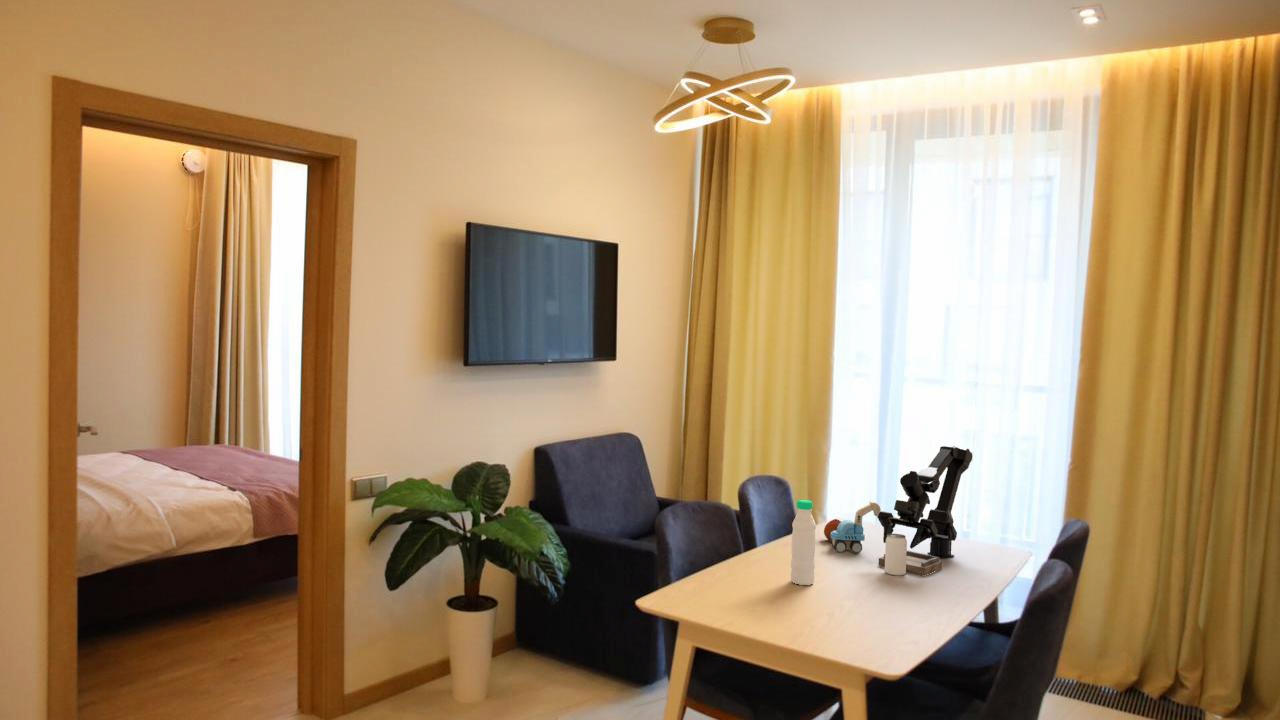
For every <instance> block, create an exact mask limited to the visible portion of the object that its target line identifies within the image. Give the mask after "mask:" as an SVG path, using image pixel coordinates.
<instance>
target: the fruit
mask: <svg viewBox="0 0 1280 720" xmlns="http://www.w3.org/2000/svg"><path fill="white" fill-rule="evenodd" d="M840 522H842V521H841V520H840V519H837V518H835V519H831V520H830V521H829V522H827V523H826V524H825V526H824V529H823V535H824V537H825V539H827V540H828V541H830V540H831V532H832V531H836V530H837V527H838V525H839V523H840Z"/></svg>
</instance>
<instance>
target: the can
mask: <svg viewBox="0 0 1280 720" xmlns="http://www.w3.org/2000/svg"><path fill="white" fill-rule="evenodd" d="M907 544H908V541H907V538H906V535H904V534H901V533H892V534H888V535H887V538H886V543H885V549H884V550H885V552H884V554H885V567H884V572H885V574H887V575H890V576H896V577H897V576H899V577H901V576H905V574H907V572H906V553H907V551H908V550H907V549H908V545H907Z"/></svg>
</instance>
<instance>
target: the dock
mask: <svg viewBox="0 0 1280 720" xmlns="http://www.w3.org/2000/svg"><path fill="white" fill-rule="evenodd" d="M878 567H883V568H885V553H883V556H881V557H878ZM941 568H942V569H943V561H942V560H940V558H939V557H936V556H932V555H929V554H926V553H920V552H915V551H911V550H907V553H906V573H909V574H913V573H914V575H917V574H919V575H918V576H922V575H924V576H923V577H925V575H926V576H928V575H931V574H933V573H935V572H934V571H936V572H938V571H940V570H939V569H941ZM942 569H941V570H942ZM937 570H938V571H937ZM932 572H933V573H932ZM930 573H931V574H930ZM927 574H928V575H927Z"/></svg>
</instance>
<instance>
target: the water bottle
mask: <svg viewBox="0 0 1280 720" xmlns="http://www.w3.org/2000/svg"><path fill="white" fill-rule="evenodd" d="M813 507H814V504H813V501H811V500H809V499H807V500H806V499H800V500H797V501H796V510H797V513H796V515H795V518H794V519H793V521H792V524H791V525H792V532H791V533H792V535H791V563H790V568H791V571H790V582H791V583H792V582H793V584H794V583H795V584H794V585H796V584H799V585H798V586H802V585H808V586H811V584H812V585H813V584H814V583H815V566H816V563H815V555H816V554H815V553H816V528H817V525H816V522H815V519H814V516H813V515H812V511H813Z"/></svg>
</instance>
